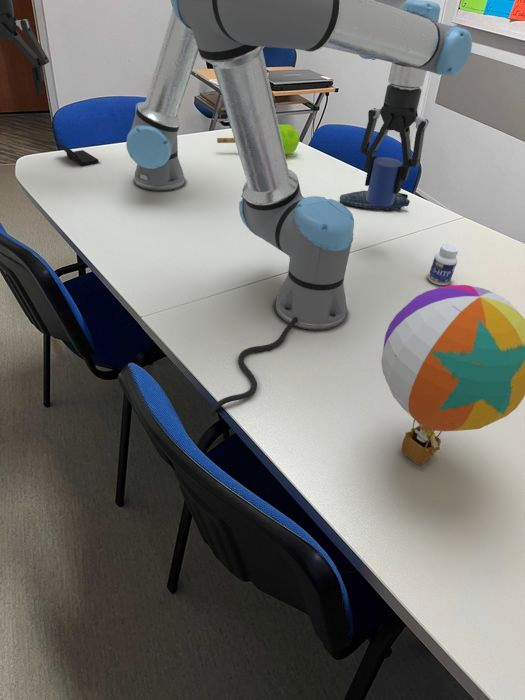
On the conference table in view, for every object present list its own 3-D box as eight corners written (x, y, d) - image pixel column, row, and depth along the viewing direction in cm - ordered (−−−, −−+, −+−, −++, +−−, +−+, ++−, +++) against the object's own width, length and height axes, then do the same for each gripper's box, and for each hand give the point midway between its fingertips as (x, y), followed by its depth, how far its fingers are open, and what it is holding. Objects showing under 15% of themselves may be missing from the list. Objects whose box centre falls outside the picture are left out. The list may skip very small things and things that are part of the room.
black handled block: (103, 155, 172) (82, 133, 163) (91, 173, 171) (70, 152, 162) (82, 151, 178) (61, 130, 170) (71, 168, 177) (49, 148, 168)
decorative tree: (214, 118, 187) (294, 118, 193) (214, 147, 194) (292, 146, 199) (220, 132, 174) (307, 132, 179) (220, 164, 180) (304, 162, 185)
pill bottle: (426, 282, 126) (437, 249, 120) (429, 272, 130) (439, 240, 124) (449, 287, 124) (460, 254, 119) (450, 277, 128) (461, 245, 123)
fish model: (408, 214, 157) (412, 198, 153) (339, 207, 158) (341, 191, 154) (406, 206, 162) (410, 190, 159) (339, 199, 163) (341, 183, 160)
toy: (330, 445, 83) (367, 285, 64) (404, 395, 93) (455, 244, 75) (432, 532, 72) (514, 369, 53) (503, 464, 82) (592, 308, 64)
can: (360, 198, 130) (367, 160, 124) (378, 193, 133) (386, 155, 127) (381, 208, 126) (390, 169, 120) (399, 202, 129) (408, 164, 123)
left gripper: (-71, -12, 117) (-43, 91, 130) (40, -1, 117) (57, 100, 131) (-54, -14, 123) (-29, 84, 136) (52, -4, 123) (66, 93, 137)
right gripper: (454, 91, 112) (426, 194, 126) (369, 75, 119) (352, 173, 134) (444, 97, 107) (416, 203, 121) (356, 80, 114) (339, 182, 129)
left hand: (13, 92), depth 133 cm, fingers open, 13 cm apart
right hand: (382, 188), depth 127 cm, fingers closed on can, 7 cm apart
